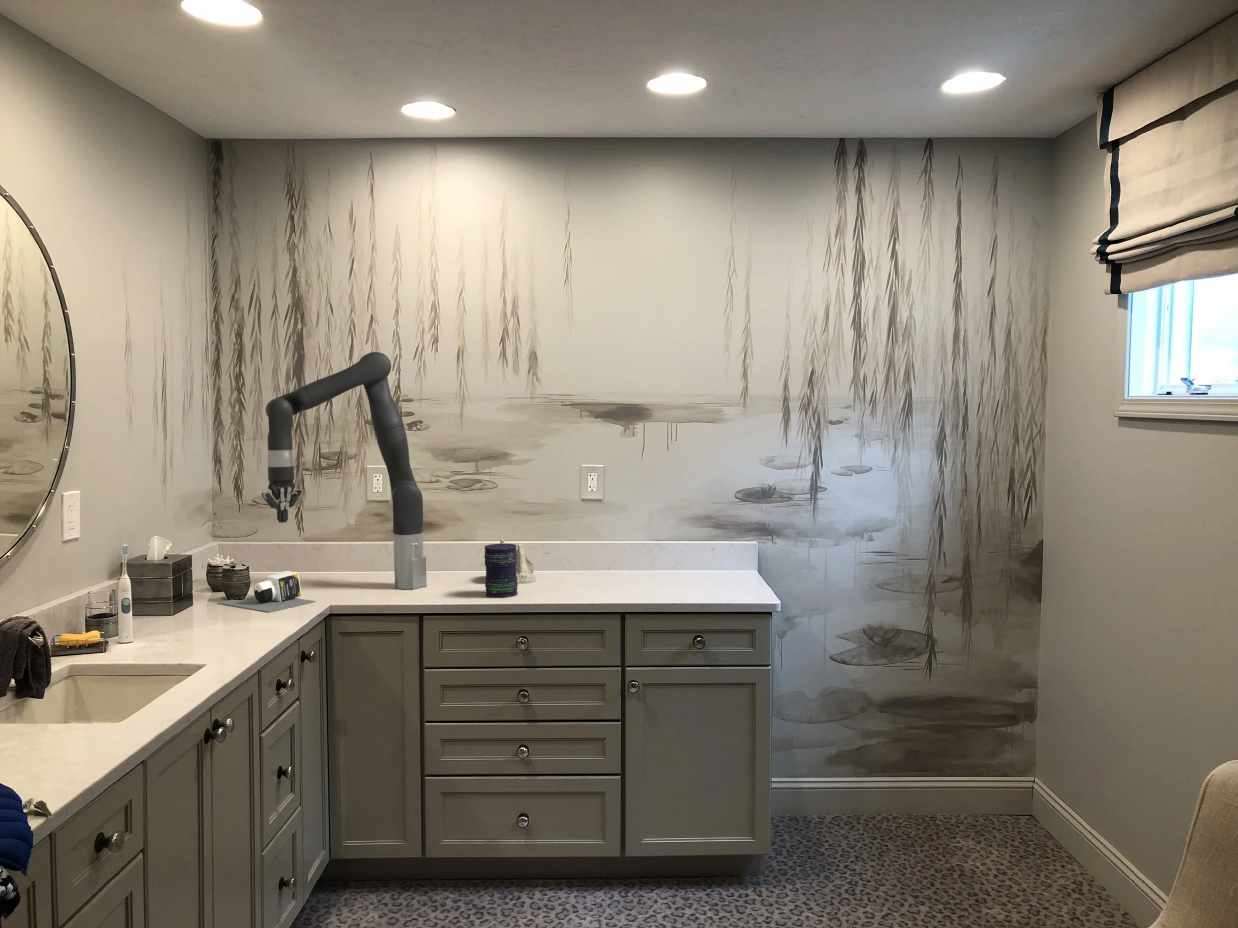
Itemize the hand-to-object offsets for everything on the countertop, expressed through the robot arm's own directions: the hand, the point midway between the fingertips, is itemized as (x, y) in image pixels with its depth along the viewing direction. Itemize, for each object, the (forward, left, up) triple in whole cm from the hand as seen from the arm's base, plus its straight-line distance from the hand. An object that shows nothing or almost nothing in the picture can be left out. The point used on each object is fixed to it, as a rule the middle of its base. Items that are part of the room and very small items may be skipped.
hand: (282, 522), depth 285 cm
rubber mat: (0, +7, -23) cm, 24 cm away
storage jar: (-54, -37, -24) cm, 69 cm away
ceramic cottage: (-42, -55, -24) cm, 73 cm away
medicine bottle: (-2, -2, -19) cm, 19 cm away
